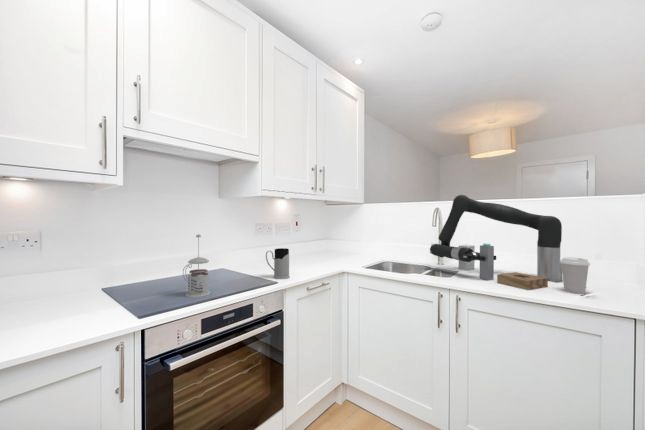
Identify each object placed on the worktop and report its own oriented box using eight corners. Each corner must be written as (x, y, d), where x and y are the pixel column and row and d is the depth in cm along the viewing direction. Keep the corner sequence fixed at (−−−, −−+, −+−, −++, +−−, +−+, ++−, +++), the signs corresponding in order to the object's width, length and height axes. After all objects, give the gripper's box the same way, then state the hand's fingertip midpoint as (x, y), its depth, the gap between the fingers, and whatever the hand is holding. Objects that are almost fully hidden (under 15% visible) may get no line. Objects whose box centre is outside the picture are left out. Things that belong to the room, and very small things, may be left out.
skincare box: (465, 267, 176) (465, 244, 176) (475, 269, 171) (475, 245, 171) (457, 269, 171) (458, 245, 171) (467, 270, 166) (467, 246, 166)
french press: (202, 298, 110) (202, 235, 110) (176, 296, 112) (176, 235, 112) (215, 291, 120) (215, 233, 119) (191, 289, 122) (191, 233, 121)
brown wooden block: (515, 282, 138) (515, 272, 138) (547, 289, 125) (547, 278, 125) (497, 284, 132) (497, 274, 132) (528, 292, 120) (528, 280, 120)
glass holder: (284, 279, 141) (284, 250, 141) (261, 277, 146) (261, 249, 146) (292, 276, 149) (292, 248, 149) (270, 274, 154) (270, 247, 154)
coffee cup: (582, 298, 112) (582, 261, 112) (555, 291, 121) (555, 257, 121) (594, 295, 116) (595, 259, 116) (567, 289, 124) (567, 256, 124)
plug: (485, 279, 143) (485, 243, 143) (493, 281, 139) (493, 244, 139) (479, 280, 141) (479, 243, 141) (487, 282, 137) (488, 244, 137)
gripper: (452, 248, 150) (480, 251, 135) (471, 246, 156) (499, 250, 141) (452, 261, 150) (480, 267, 135) (471, 260, 156) (499, 264, 141)
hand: (490, 258), depth 138 cm, fingers open, 7 cm apart
